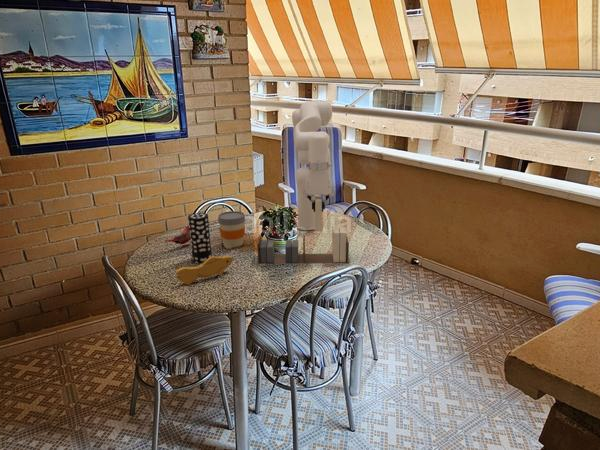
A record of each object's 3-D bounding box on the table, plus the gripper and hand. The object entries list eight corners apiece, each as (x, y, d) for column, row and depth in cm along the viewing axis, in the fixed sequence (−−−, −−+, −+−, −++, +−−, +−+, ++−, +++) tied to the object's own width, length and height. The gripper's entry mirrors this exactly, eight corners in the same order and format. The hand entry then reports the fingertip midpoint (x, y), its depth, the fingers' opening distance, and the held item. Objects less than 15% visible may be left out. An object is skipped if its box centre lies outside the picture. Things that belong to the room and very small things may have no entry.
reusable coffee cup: (229, 238, 201) (227, 209, 196) (251, 242, 196) (250, 212, 190) (214, 248, 190) (212, 217, 185) (237, 252, 185) (235, 220, 180)
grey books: (262, 255, 179) (261, 240, 176) (298, 254, 178) (298, 239, 176) (260, 262, 171) (259, 247, 169) (298, 262, 170) (297, 247, 168)
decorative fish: (233, 267, 166) (226, 246, 162) (236, 270, 164) (229, 249, 159) (182, 291, 159) (173, 270, 154) (184, 294, 156) (175, 273, 152)
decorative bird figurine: (198, 242, 197) (196, 223, 194) (167, 254, 185) (164, 233, 181) (195, 241, 199) (193, 221, 196) (163, 252, 186) (161, 232, 183)
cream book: (315, 224, 173) (314, 195, 168) (321, 224, 173) (321, 195, 168) (315, 231, 165) (315, 200, 161) (321, 231, 165) (321, 200, 161)
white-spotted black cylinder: (215, 257, 180) (211, 214, 173) (204, 264, 173) (200, 220, 166) (200, 254, 184) (196, 212, 177) (188, 261, 176) (183, 217, 170)
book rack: (260, 256, 180) (259, 235, 177) (346, 255, 178) (347, 234, 175) (257, 265, 170) (256, 243, 167) (348, 265, 169) (349, 243, 165)
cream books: (332, 254, 177) (332, 226, 173) (344, 254, 177) (344, 226, 173) (333, 262, 170) (333, 233, 165) (345, 262, 169) (346, 233, 165)
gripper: (338, 164, 164) (337, 208, 170) (297, 164, 164) (298, 208, 170) (339, 167, 157) (338, 213, 163) (297, 168, 157) (298, 214, 163)
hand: (318, 210), depth 166 cm, fingers closed on cream book, 2 cm apart
